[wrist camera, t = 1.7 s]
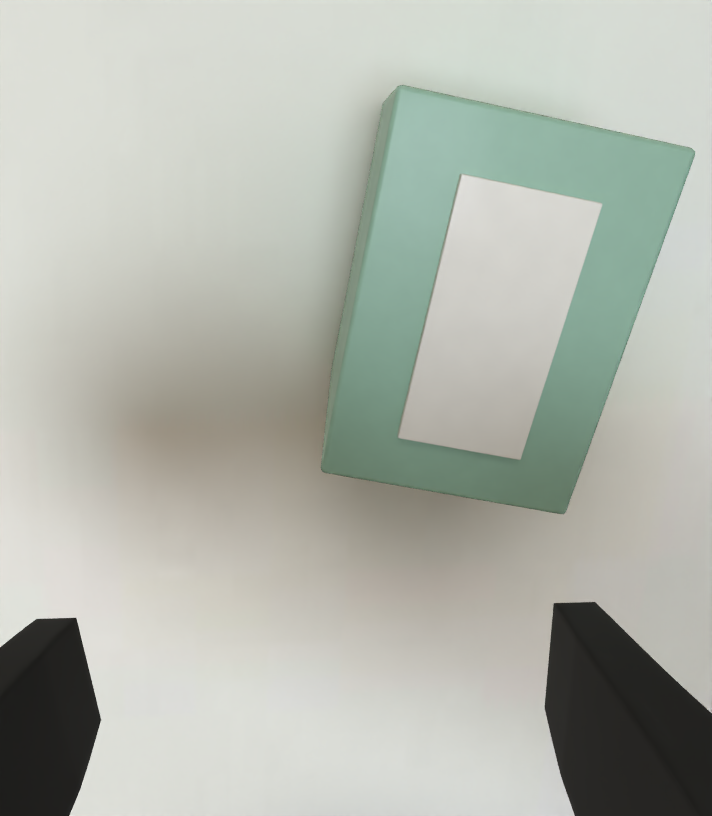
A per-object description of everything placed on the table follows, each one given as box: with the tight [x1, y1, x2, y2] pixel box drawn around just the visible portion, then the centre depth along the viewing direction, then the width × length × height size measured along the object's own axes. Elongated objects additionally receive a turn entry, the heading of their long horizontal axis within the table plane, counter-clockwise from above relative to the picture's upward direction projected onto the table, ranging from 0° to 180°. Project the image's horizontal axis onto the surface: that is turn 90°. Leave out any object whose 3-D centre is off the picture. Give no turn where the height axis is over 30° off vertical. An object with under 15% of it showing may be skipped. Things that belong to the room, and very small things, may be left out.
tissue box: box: [321, 85, 695, 514], centre depth 15 cm, size 5×7×6 cm
